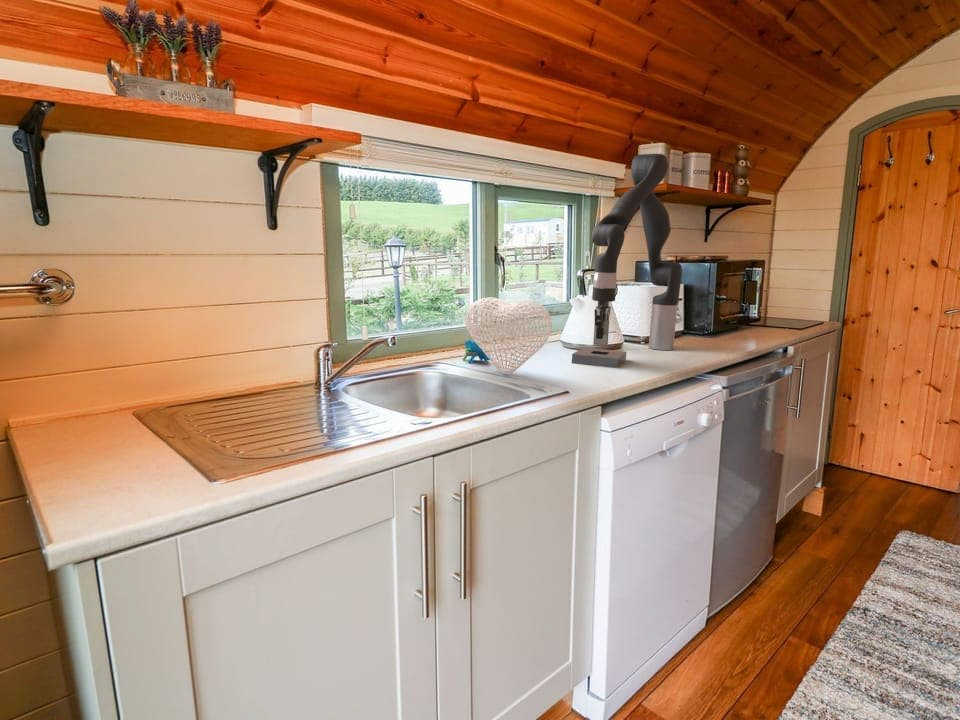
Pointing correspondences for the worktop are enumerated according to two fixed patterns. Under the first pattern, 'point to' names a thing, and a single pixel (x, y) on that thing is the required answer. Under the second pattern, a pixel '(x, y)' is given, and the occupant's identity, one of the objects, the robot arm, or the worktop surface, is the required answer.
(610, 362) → the hole block
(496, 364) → the heart
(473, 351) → the blue irregular piece
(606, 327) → the peg
